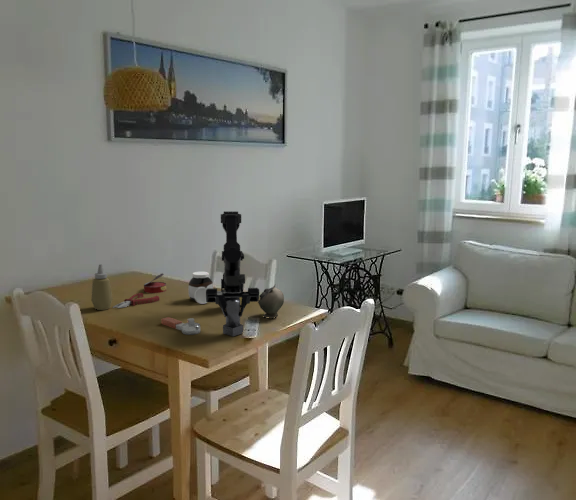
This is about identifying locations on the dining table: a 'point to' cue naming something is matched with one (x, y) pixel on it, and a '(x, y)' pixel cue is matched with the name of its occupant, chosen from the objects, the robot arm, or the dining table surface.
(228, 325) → the socket
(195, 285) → the spread jar
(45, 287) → the dining table surface
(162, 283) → the canned food
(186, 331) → the ratchet
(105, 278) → the squeeze bottle
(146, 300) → the pliers
